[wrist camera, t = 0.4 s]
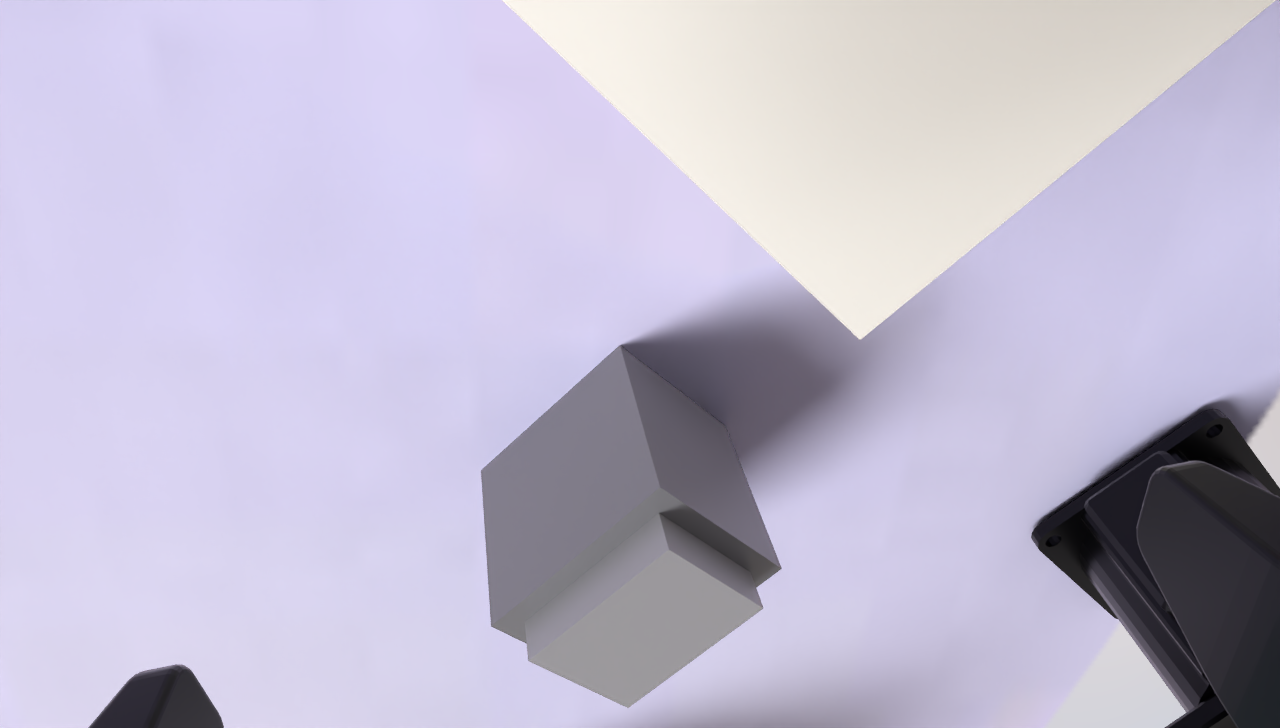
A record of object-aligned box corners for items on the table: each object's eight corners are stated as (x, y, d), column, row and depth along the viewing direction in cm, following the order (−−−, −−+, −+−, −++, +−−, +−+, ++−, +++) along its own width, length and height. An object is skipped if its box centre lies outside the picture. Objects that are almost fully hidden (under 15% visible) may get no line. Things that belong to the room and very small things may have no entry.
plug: (725, 424, 25) (795, 604, 20) (591, 535, 26) (627, 727, 22) (619, 344, 23) (670, 523, 18) (480, 469, 24) (493, 665, 19)
